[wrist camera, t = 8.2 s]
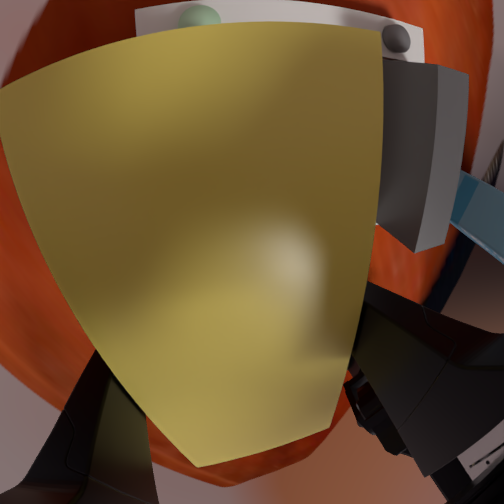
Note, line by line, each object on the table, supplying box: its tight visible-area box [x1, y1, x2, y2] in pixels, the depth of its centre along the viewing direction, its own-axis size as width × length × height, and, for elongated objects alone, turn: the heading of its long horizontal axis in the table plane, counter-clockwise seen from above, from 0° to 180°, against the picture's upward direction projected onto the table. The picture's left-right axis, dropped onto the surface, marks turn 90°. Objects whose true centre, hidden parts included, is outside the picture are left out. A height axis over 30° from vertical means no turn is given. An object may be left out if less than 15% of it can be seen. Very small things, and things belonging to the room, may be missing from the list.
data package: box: [450, 170, 504, 264], centre depth 21 cm, size 12×4×12 cm, turn 66°
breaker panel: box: [135, 0, 424, 225], centre depth 16 cm, size 18×15×3 cm
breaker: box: [376, 60, 469, 253], centre depth 16 cm, size 3×11×5 cm, turn 5°
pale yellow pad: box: [0, 21, 383, 467], centre depth 9 cm, size 6×14×4 cm, turn 7°
